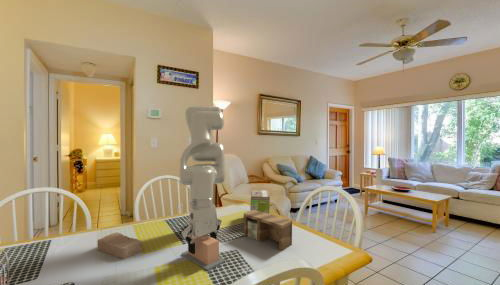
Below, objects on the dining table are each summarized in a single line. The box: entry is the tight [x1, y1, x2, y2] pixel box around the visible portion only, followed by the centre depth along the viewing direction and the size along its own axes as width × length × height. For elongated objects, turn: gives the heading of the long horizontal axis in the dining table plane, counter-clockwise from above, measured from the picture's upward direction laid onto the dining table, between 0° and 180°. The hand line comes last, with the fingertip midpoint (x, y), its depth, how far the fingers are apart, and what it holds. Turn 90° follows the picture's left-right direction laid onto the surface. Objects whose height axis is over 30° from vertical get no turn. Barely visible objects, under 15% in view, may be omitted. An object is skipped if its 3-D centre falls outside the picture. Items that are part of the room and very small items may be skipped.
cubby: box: [243, 210, 293, 252], centre depth 104 cm, size 21×7×10 cm, turn 48°
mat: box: [181, 250, 226, 272], centre depth 88 cm, size 16×8×1 cm, turn 48°
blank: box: [187, 234, 220, 265], centre depth 88 cm, size 5×12×7 cm, turn 48°
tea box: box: [250, 189, 271, 214], centre depth 128 cm, size 15×10×15 cm
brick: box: [96, 232, 143, 260], centre depth 94 cm, size 17×8×5 cm, turn 64°
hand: (202, 248), depth 88 cm, fingers open, 9 cm apart
